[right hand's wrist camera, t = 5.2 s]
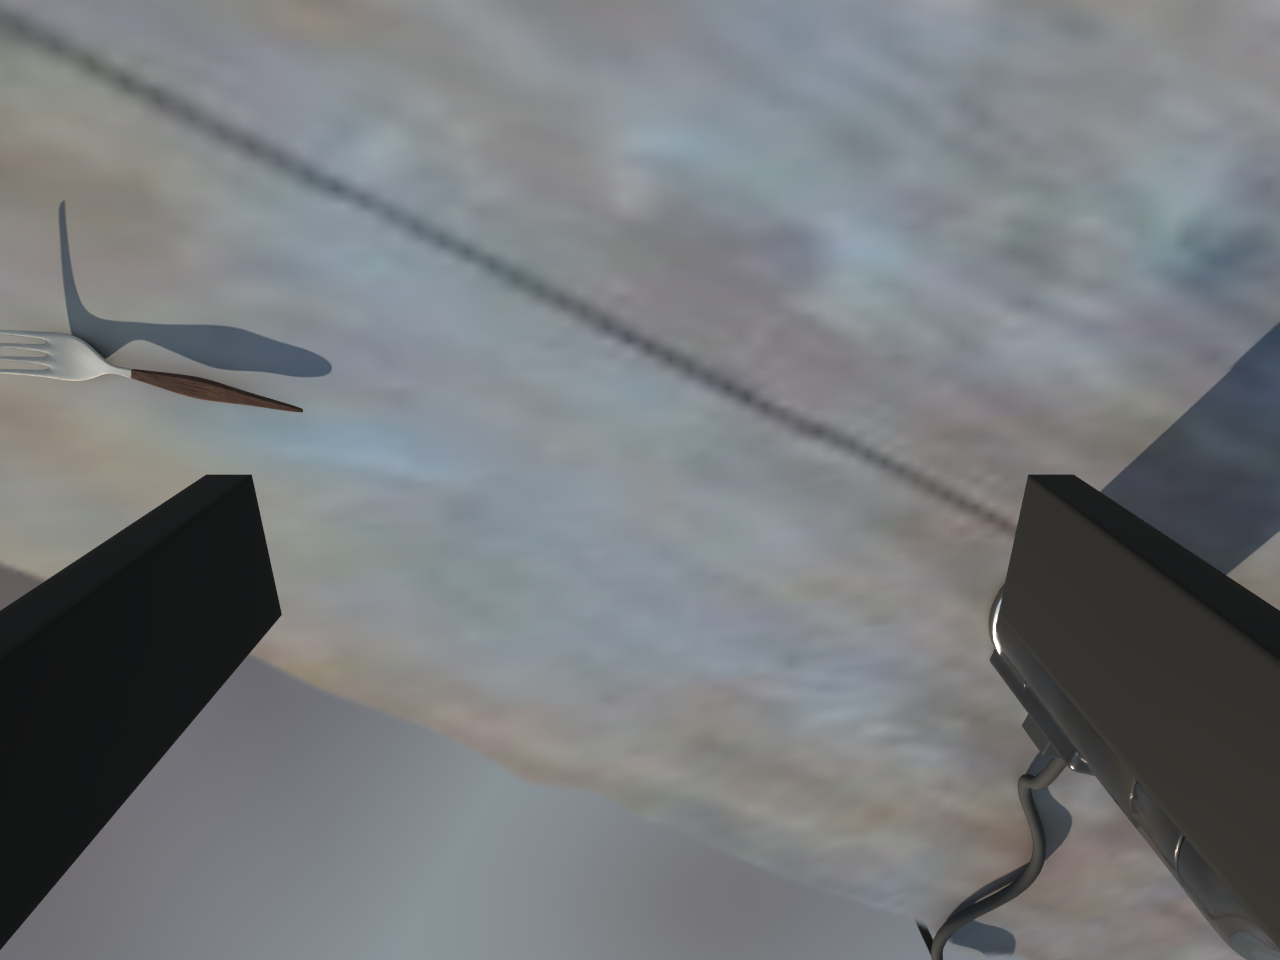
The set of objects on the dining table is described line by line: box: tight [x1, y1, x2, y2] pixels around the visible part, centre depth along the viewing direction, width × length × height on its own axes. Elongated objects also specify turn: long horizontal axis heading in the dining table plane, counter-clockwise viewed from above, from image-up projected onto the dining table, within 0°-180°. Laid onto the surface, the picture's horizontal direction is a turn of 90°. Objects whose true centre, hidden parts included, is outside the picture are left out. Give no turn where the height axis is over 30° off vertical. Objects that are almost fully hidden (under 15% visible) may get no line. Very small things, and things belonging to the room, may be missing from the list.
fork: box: [0, 330, 303, 412], centre depth 39 cm, size 3×16×2 cm, turn 77°
